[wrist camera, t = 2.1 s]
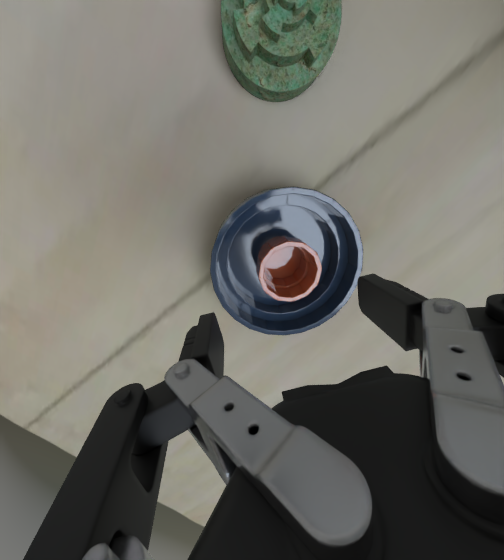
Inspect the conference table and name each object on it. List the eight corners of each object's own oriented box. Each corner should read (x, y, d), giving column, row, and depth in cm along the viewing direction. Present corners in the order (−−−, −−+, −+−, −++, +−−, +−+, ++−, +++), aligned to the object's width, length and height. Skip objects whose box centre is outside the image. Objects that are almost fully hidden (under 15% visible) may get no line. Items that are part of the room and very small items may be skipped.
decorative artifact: (345, -14, 21) (235, -62, 19) (397, -110, 14) (236, -194, 12) (309, 115, 24) (213, 83, 22) (338, 86, 17) (205, 39, 16)
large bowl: (322, 164, 26) (342, 158, 21) (354, 287, 31) (376, 303, 27) (190, 222, 27) (181, 229, 22) (245, 331, 33) (247, 354, 28)
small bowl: (296, 223, 27) (310, 231, 22) (311, 271, 30) (328, 287, 24) (246, 245, 28) (249, 257, 23) (265, 290, 30) (272, 310, 25)
